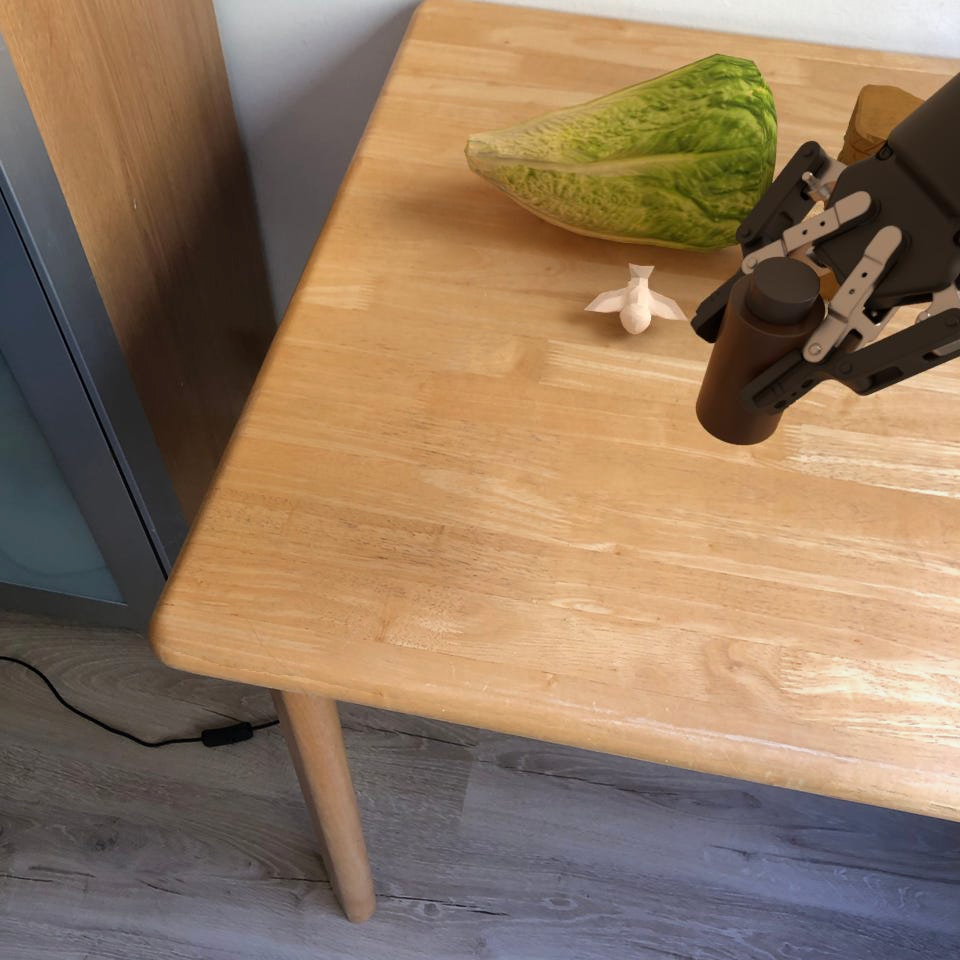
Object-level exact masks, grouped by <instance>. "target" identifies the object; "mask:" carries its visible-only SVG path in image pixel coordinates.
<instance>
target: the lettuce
mask: <svg viewBox="0 0 960 960" xmlns="http://www.w3.org/2000/svg"><path fill="white" fill-rule="evenodd" d="M777 149H778V117H777V109H776V105H775V99H774V94H773V91H772V89H771V87H770V86H769V84H768V82H767V81H766V79H765V77H764V76H763V74H762V72H761V71H760V69H759V68H758V66H757V65H756V62H755V61H754V60H751V59H748V58H747V59H746V58H741V57H736V56H732V55H728V54H727V55H726V54H722V53H714V54H711V55H709V56H706V57H704V58H702V59H699V60H696V61H694V62H691V63H689V64H686V65H683V66H681V67H678V68H676V69H674V70H671V71H669V72H665V73H664V74H661V75H658V76H655V77H654V78H651V79H647V80H644V81H641V82H637V83H634V84H631V85H628V86H625V87H622V88H620V89H617V90H614V91H613V92H612V91H611V92H610V93H607V94H604V95H602V96H600V97H597V98H595V99H592V100H589V101H587V102H584V103H579V104H575V105H571V106H570V105H569V106H566V107H561V108H556V109H551V110H549V111H546V112H543V113H541V114H537V115H536V116H533V117H530V118H528V119H525V120H521V121H518V122H515V123H513V124H509V125H506V126H503V127H501V128H496V129H491V130H486V131H481V132H476V133H470V134H469V136H468V139H467V141H466V144H465V147H464V150H463V152H464V155H465V158H466V162H467V165H468V168H469V170H470V172H471V173H472V174H475V176H477V177H478V178H480V179H481V180H483V182H485V183H486V184H488V185H489V186H491V187H493V188H495V189H496V190H497V191H499V192H501V193H503V194H504V195H505V196H507V197H508V198H510V199H511V200H512V201H514V202H515V203H516V204H518V205H519V206H521V207H522V208H524V209H525V210H527V211H528V212H530V213H532V214H534V215H535V216H536V217H538V218H540V219H542V220H544V221H545V222H547V223H549V224H551V225H554V226H557V227H559V228H562V229H565V230H567V231H570V232H572V233H576V234H577V235H581V236H586V237H589V238H594V239H595V238H596V239H601V240H607V241H613V242H617V243H625V244H634V245H635V244H636V245H649V246H656V247H662V248H669V249H677V250H683V251H691V252H698V253H699V252H700V253H710V252H713V251H717V250H721V249H726V248H729V247H733V246H737V245H741V244H740V243H739V242H738V241H737V240H736V237H735V234H736V231H737V229H738V227H739V226H740V225H741V223H742V222H743V221H744V219H745V218H746V217H747V215H748V214H749V213H750V212H751V210H752V209H753V208H754V206H755V205H756V204H757V202H758V201H759V200H760V199H761V197H762V196H763V195H764V193H765V192H766V191H767V189H768V188H769V187H770V186H771V184H772V183H773V182H774V176H775V171H776V170H775V169H776V163H777Z"/></svg>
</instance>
